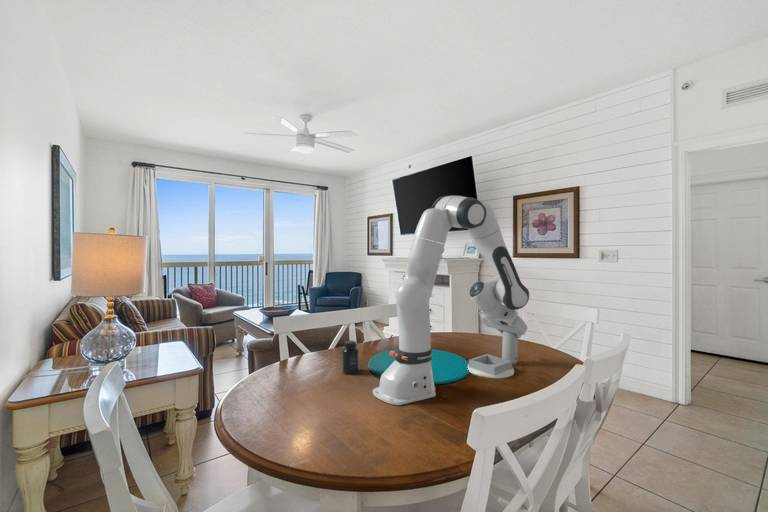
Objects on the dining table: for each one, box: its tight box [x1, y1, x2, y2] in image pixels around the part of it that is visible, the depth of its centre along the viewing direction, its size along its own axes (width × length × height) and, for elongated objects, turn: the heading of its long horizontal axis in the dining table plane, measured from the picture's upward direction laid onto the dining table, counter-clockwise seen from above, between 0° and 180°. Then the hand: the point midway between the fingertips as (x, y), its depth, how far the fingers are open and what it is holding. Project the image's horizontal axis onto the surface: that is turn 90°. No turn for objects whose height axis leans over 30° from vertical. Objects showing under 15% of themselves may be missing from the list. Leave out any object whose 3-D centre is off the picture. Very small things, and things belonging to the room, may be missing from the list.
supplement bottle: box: [341, 340, 360, 375], centre depth 143 cm, size 7×7×12 cm
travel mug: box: [501, 330, 519, 366], centre depth 151 cm, size 6×7×20 cm
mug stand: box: [466, 353, 515, 380], centre depth 143 cm, size 18×18×4 cm
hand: (511, 334), depth 152 cm, fingers closed on travel mug, 6 cm apart
